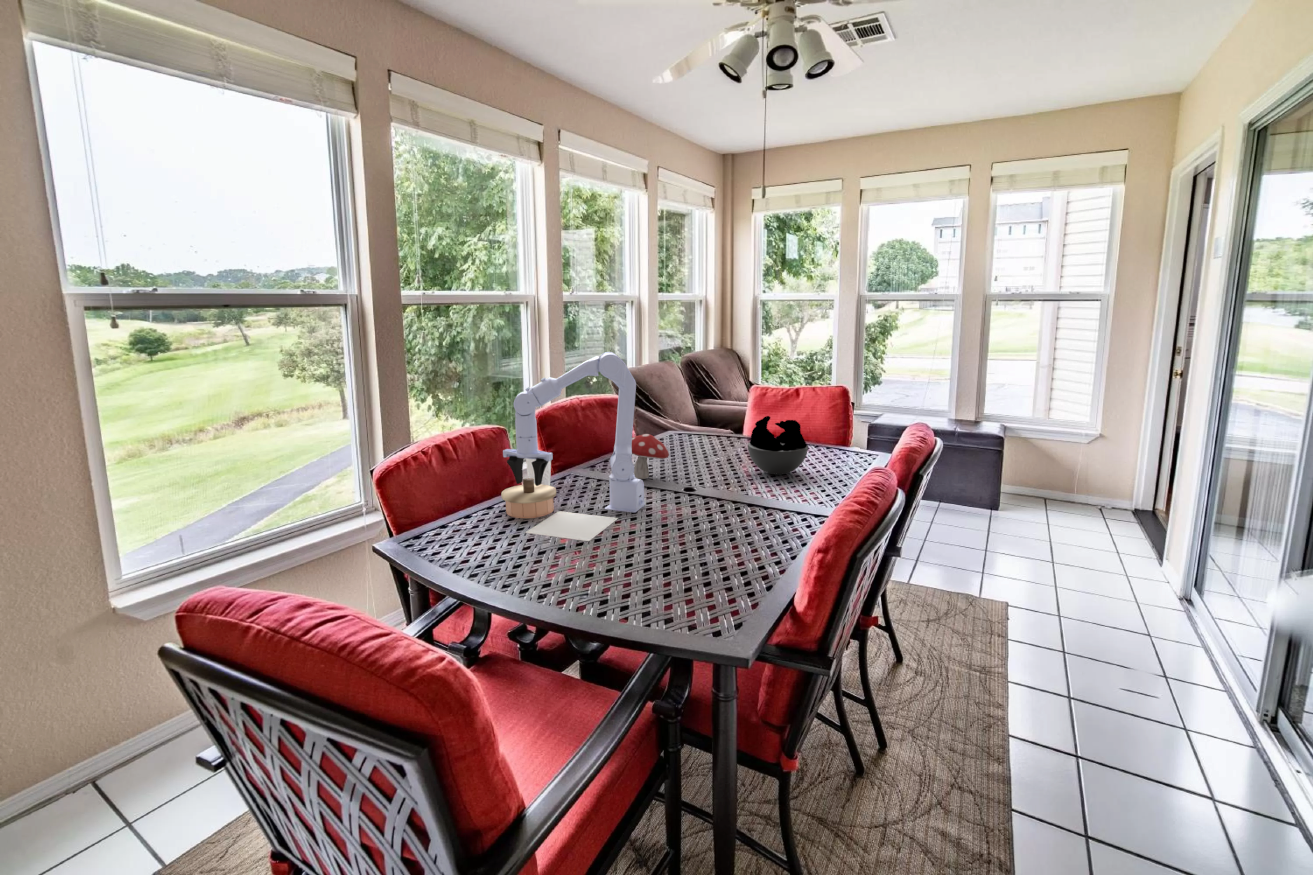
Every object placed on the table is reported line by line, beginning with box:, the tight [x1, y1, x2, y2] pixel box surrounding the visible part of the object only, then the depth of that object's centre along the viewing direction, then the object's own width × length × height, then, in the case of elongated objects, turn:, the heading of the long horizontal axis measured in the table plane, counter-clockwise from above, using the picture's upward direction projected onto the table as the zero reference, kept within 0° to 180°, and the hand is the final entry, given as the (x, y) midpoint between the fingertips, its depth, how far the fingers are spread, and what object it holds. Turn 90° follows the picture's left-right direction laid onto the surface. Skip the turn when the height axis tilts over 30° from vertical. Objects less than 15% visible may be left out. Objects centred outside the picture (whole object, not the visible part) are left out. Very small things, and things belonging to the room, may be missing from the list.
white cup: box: [525, 458, 552, 486], centre depth 208 cm, size 8×8×10 cm
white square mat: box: [524, 510, 619, 542], centre depth 171 cm, size 18×18×1 cm
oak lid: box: [500, 477, 557, 503], centre depth 181 cm, size 15×15×4 cm
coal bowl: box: [747, 415, 809, 476], centre depth 219 cm, size 20×20×19 cm
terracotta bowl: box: [505, 497, 555, 519], centre depth 183 cm, size 13×13×5 cm
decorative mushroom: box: [632, 433, 670, 480], centre depth 215 cm, size 16×16×15 cm
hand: (528, 483), depth 181 cm, fingers open, 5 cm apart
